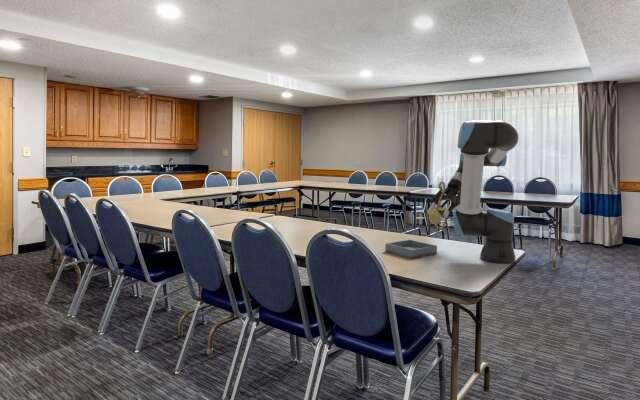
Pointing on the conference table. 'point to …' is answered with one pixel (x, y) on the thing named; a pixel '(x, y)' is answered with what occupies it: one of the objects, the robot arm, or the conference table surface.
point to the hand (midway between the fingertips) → (436, 214)
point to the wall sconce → (435, 215)
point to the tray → (411, 248)
